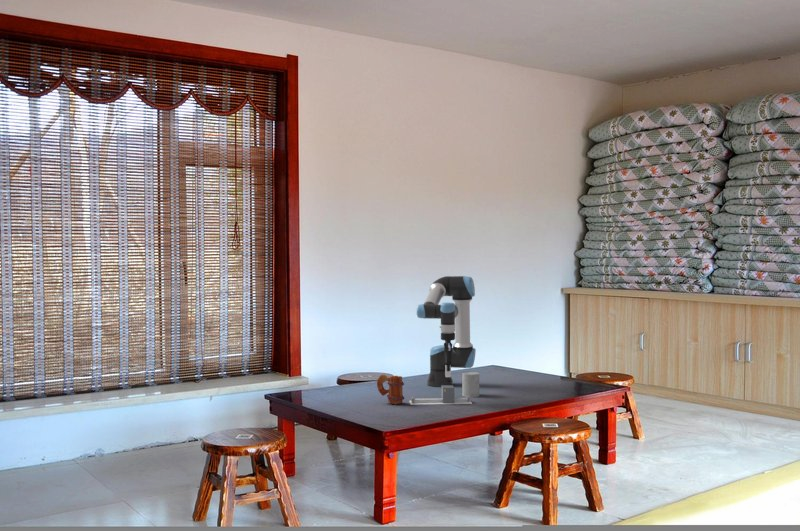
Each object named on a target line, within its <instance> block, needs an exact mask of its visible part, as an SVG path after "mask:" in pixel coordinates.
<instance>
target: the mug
mask: <svg viewBox="0 0 800 531" xmlns="http://www.w3.org/2000/svg"><path fill="white" fill-rule="evenodd" d="M385 382H387V384H388V389H386V388H384V383H385ZM376 385H377V386H376V387H377V390H378V392H379V394H381V396H386V397H387V402H388V403H389V404H391V405H400V404H402V403H403V400H405V396H404V395H403V386H404V385H405V382H404V381H403V376H401V375H391V376H387V375H386V374H381V375H380V376H379V377H378V378H377V380H376Z"/></svg>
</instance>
